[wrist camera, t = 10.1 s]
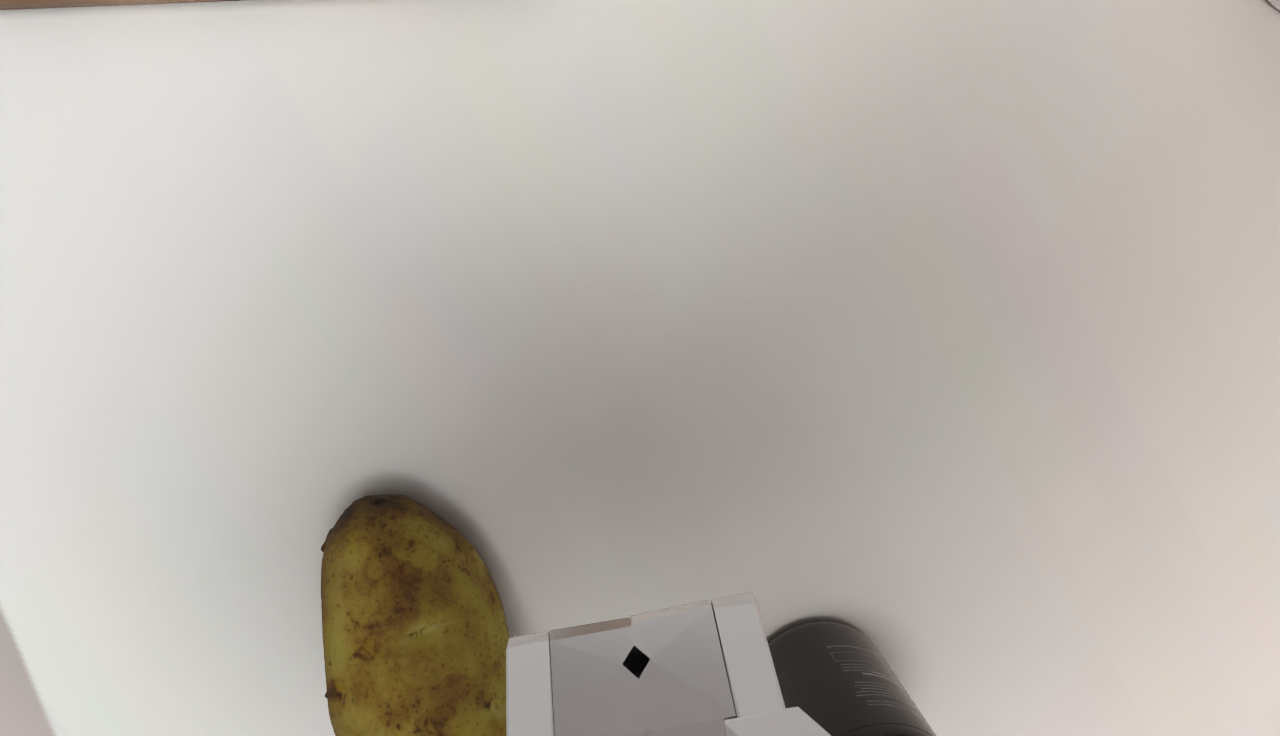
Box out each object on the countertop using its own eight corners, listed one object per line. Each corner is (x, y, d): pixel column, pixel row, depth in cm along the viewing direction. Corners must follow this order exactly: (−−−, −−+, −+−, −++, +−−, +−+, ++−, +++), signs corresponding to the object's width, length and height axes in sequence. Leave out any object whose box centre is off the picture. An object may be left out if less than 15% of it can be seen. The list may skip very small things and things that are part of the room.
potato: (535, 479, 42) (546, 567, 34) (517, 739, 45) (524, 872, 37) (332, 474, 40) (297, 564, 33) (330, 742, 44) (298, 881, 36)
